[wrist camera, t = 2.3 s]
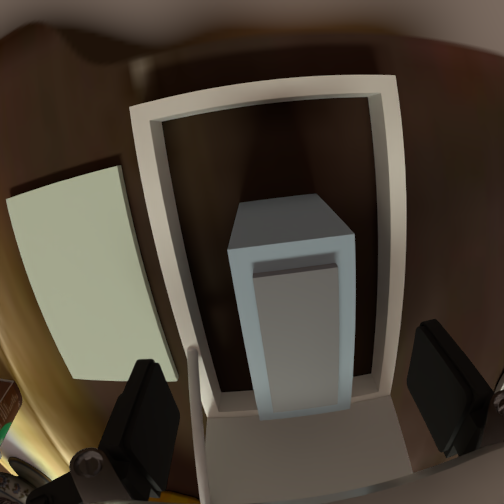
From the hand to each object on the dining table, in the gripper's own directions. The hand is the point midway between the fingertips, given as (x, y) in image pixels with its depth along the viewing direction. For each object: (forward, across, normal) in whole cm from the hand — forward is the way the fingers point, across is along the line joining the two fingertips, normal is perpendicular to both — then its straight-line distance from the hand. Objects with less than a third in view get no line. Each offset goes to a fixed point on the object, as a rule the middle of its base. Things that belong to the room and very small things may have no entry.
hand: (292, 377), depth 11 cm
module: (+10, -1, 0) cm, 10 cm away
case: (+10, -1, +2) cm, 10 cm away
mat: (+10, +13, 0) cm, 17 cm away
